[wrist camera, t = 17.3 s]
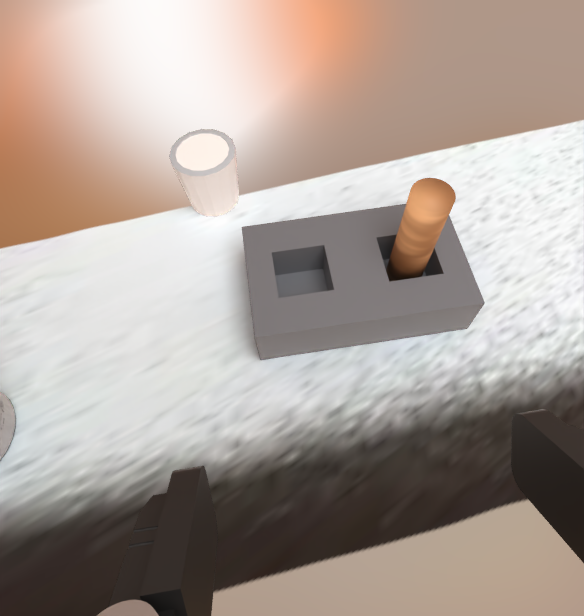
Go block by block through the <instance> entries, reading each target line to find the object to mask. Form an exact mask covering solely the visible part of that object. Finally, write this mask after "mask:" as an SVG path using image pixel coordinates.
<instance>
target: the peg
mask: <svg viewBox="0 0 584 616" xmlns="http://www.w3.org/2000/svg"><path fill="white" fill-rule="evenodd" d="M454 202H455V192H454V190H453V189H452V187H451V186H450V185H449V184H447V183H446V182H444V181H442V180H439V179H435V178H425V179H421V180H419V181H417V182H416V183H414V185H413V186H412V188H411V191H410V194H409V197H408V200H407V204H406V207H405V210H404V213H403V217H402V220H401V223H400V226H399V230H398V233H397V236H396V239H395V243H394V246H393V249H392V253H391V256H390V259H389V262H388V266H387V269H386V272H387V275H388V279H389V282H390V281H397V280H404V279H411V278H418V277H422V275H423V272H424V270H425V268H426V265H427V263H428V261H429V259H430V256H431V254H432V252H433V250H434V247H435V245H436V243H437V241H438V238H439V236H440V234H441V231H442V229H443V227H444V225H445V222H446V220H447V218H448V216H449V213H450V211H451V209H452V206H453V204H454Z"/></svg>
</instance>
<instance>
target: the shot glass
mask: <svg viewBox="0 0 584 616" xmlns="http://www.w3.org/2000/svg"><path fill="white" fill-rule="evenodd" d="M169 157H170V160H171V163H172V166H173V168H174V170H175V172H176V174H177V176H178V178H179V180H180V182H181V184H182V187H183V189H184V191H185V193H186V195H187V197H188V199H189V200H190V203H191V205H192V207H193V208H194V209H195V210H196V211H197V212H198V213H199V214H202V215H204V216H210V217H217V216H220V215H224V214H226V213H228V212H229V211H231V210H232V209H234V207H235V206H236V204H237V203H238V198H239V188H238V174H237V161H236V148H235V145H234V143H233V140H232V139H231V138H230V137H229V136H227V135H226V134H225V133H223V132H220V131H217V130H213V129H211V130H210V129H207V130H205V129H201V130H197V131H193V132H190V133H187V134H186V135H184V136H183V137H181V138H179V139H178V140H177V141H176V142H175V144H174V145H173V146H172V148H171V151H170V156H169Z"/></svg>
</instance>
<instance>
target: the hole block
mask: <svg viewBox="0 0 584 616" xmlns="http://www.w3.org/2000/svg"><path fill="white" fill-rule="evenodd" d="M405 207H406V204H402V205H395V206H388V207H381V208H374V209H367V210H360V211H353V212H345V213H338V214H331V215H324V216H317V217H310V218H303V219H296V220H289V221H282V222H275V223H267V224H260V225H253V226H246V227H242V233H243V242H244V250H245V259H246V267H247V275H248V284H249V292H250V301H251V309H252V318H253V326H254V335H255V340H256V344H257V348H258V351H259V355H260V359H261V360H263V359H270V358H277V357H283V356H290V355H296V354H303V353H310V352H316V351H323V350H329V349H336V348H343V347H349V346H356V345H362V344H369V343H375V342H382V341H389V340H395V339H402V338H408V337H415V336H422V335H428V334H435V333H441V332H448V331H454V330H461V329H467V328H468V327H469V325H470V324H471V322H472V321H473V319H474V318H475V317H476V315H477V314H478V312H479V311H480V309H481V308H482V306H483V305H484V300H483V298H482V295H481V293H480V290H479V288H478V285H477V283H476V280H475V278H474V276H473V273H472V271H471V268H470V266H469V263H468V261H467V258H466V256H465V253H464V251H463V249H462V246H461V244H460V241H459V239H458V236H457V234H456V231H455V229H454V226H453V224H452V221H451V219H450V217H449V216H448V218H447V220H446V222H445V225H444V227H443V229H442V231H441V234H440V236H439V238H438V241H437V243H436V245H435V247H434V250H433V252H432V254H431V256H430V259H429V261H428V263H427V265H426V268H425V270H424V272H423V275H422V277H418V278H411V279H404V280H397V281H390V282H389V279H388V275H387V272H386V269H387V266H388V262H389V259H390V256H391V253H392V249H393V246H394V243H395V239H396V236H397V233H398V230H399V226H400V223H401V220H402V217H403V213H404V210H405Z"/></svg>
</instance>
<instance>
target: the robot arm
mask: <svg viewBox="0 0 584 616" xmlns="http://www.w3.org/2000/svg"><path fill="white" fill-rule="evenodd" d="M14 430H15V413H14V408H13V406H12V404H11V402H10V400H9V399H8V398H7V397H6V396H5V395H4V394H3V393H2V392H0V460H1V458H2V457H3V456H4V454H5V453H6V451H7V449H8V447H9V445H10V443H11V441H12V438H13V434H14ZM511 465H512V472H513V475H514V478H515V481H516V483H517V485H518V487H519V488H520V490H521V491H522V492H523V493H524V495H525V496H526V497H527V498H528V499H529V500H530V502H531V503H532V504H533V505H534V506H535V507H536V508H537V510H538V511H539V512H540V513H541V514H542V515H543V517H544V518H545V519H546V520H547V521H548V522H549V524H550V525H551V526H552V527H553V528H554V529H555V530H556V532H557V533H558V534H559V535H560V536H561V537H562V538H563V540H564V541H565V542H566V543H567V544H568V545H569V547H570V548H571V549H572V550H573V551H574V552H575V554H576V555H577V556H578V557H579V558H580V559H581V560H582V562H583V563H584V430H583V429H580V428H578V427H576V426H573V425H569V426H568V425H567V424H565V423H564V422H563V421H562V420H560V419H559V418H558V417H556V416H555V415H554V414H553V413H551V412H550V411H548V410H546V409H541V410H536V411H530V412H524V413H518V414H515V415H514V416H513V418H512V456H511ZM217 543H218V532H217V521H216V515H215V511H214V506H213V501H212V497H211V492H210V488H209V483H208V479H207V474H206V471H205V468H204V466H198V467H193V468H187V469H181V470H175V471H173V473H172V475H171V479H170V483H169V487H168V491H167V493H165V494H159V495H153V496H152V498H151V499H150V500H149V501H148V502H147V504H146V505H145V506H144V507H143V509H142V510H141V511H140V512H139V515H138V518H137V521H136V524H135V527H134V533H133V534H132V537H131V540H130V543H129V549H127V552H126V555H125V558H124V561H123V564H122V567H121V570H120V573H119V576H118V579H117V582H116V585H115V588H114V591H113V594H112V597H111V600H110V603H109V606H108V608H107V609H105V610H104V611H102V612H101V613H100V614H98V615H97V616H211V611H212V599H213V588H214V577H215V566H216V555H217Z"/></svg>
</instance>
